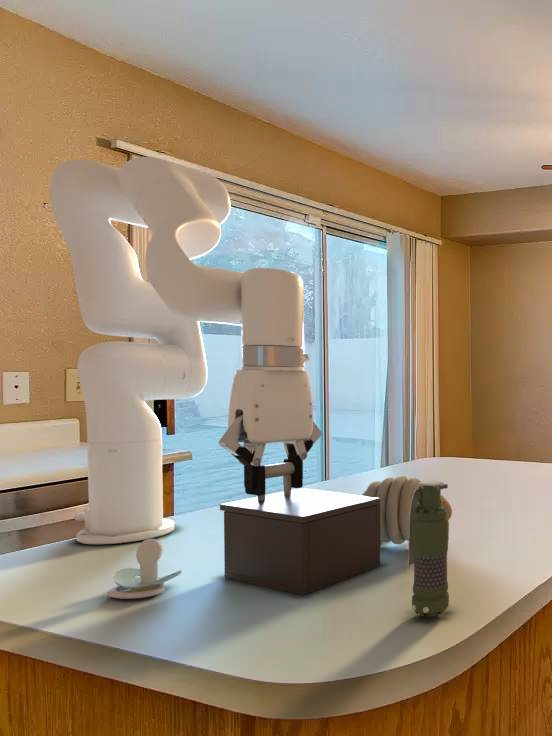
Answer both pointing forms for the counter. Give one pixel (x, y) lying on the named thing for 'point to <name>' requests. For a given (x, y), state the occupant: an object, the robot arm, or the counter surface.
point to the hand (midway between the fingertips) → (274, 489)
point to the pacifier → (142, 574)
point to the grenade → (429, 549)
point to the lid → (297, 501)
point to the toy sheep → (396, 506)
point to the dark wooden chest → (301, 549)
